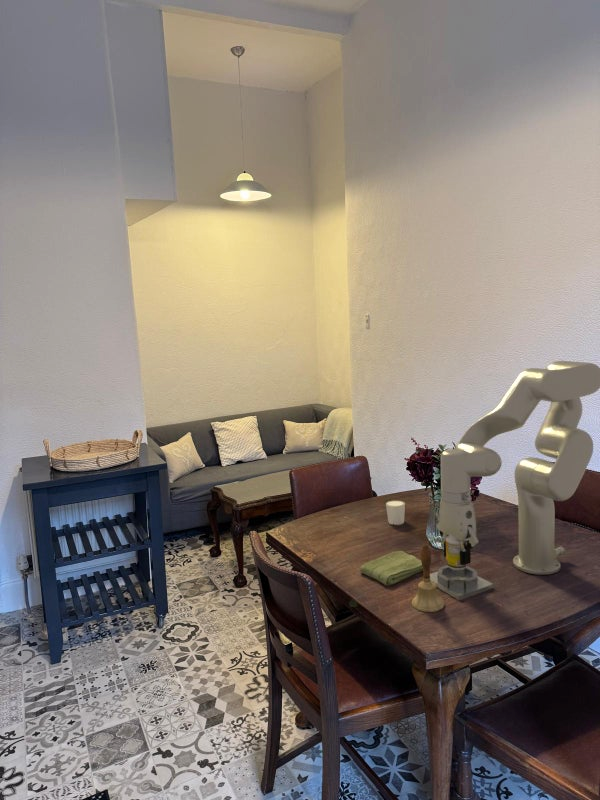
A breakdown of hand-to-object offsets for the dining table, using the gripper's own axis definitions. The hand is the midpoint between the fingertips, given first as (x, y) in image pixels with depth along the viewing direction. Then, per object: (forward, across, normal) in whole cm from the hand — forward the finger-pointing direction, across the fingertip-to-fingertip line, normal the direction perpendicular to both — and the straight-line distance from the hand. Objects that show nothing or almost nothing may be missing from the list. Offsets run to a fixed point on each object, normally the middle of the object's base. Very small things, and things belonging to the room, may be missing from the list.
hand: (457, 559), depth 155 cm
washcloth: (+8, +17, +9) cm, 21 cm away
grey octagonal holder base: (+7, 0, 0) cm, 7 cm away
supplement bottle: (+2, 0, 0) cm, 2 cm away
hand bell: (+8, -4, +14) cm, 16 cm away
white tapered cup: (+7, +48, -15) cm, 51 cm away
